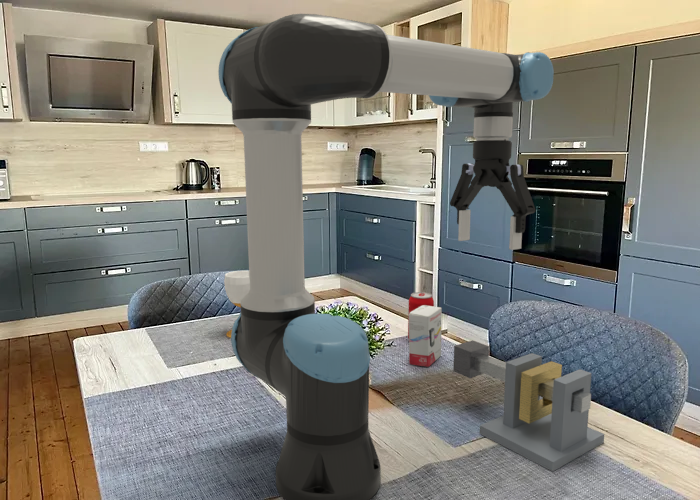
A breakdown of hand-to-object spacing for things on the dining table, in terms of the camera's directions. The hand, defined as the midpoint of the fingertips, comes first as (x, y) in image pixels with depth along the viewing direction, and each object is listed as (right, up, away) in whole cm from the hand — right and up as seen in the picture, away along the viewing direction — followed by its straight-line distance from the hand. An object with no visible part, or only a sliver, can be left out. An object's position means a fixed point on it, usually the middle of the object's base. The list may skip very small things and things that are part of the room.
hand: (488, 244), depth 115 cm
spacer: (+3, -28, -23) cm, 37 cm away
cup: (-56, -23, +31) cm, 68 cm away
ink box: (-12, -26, +12) cm, 31 cm away
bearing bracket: (+3, -32, -23) cm, 40 cm away
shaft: (0, -25, -20) cm, 32 cm away
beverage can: (-11, -24, +25) cm, 36 cm away
